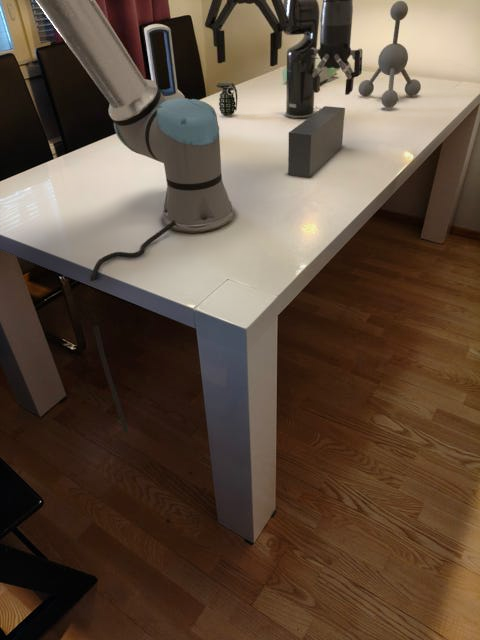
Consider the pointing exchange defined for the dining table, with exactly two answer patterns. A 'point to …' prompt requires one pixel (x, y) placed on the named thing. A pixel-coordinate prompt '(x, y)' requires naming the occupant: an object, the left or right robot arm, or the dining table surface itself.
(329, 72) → the grey device with connectors
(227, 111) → the grenade
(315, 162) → the box
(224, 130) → the dining table surface
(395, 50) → the molecular model
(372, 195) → the dining table surface
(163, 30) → the electronic device
